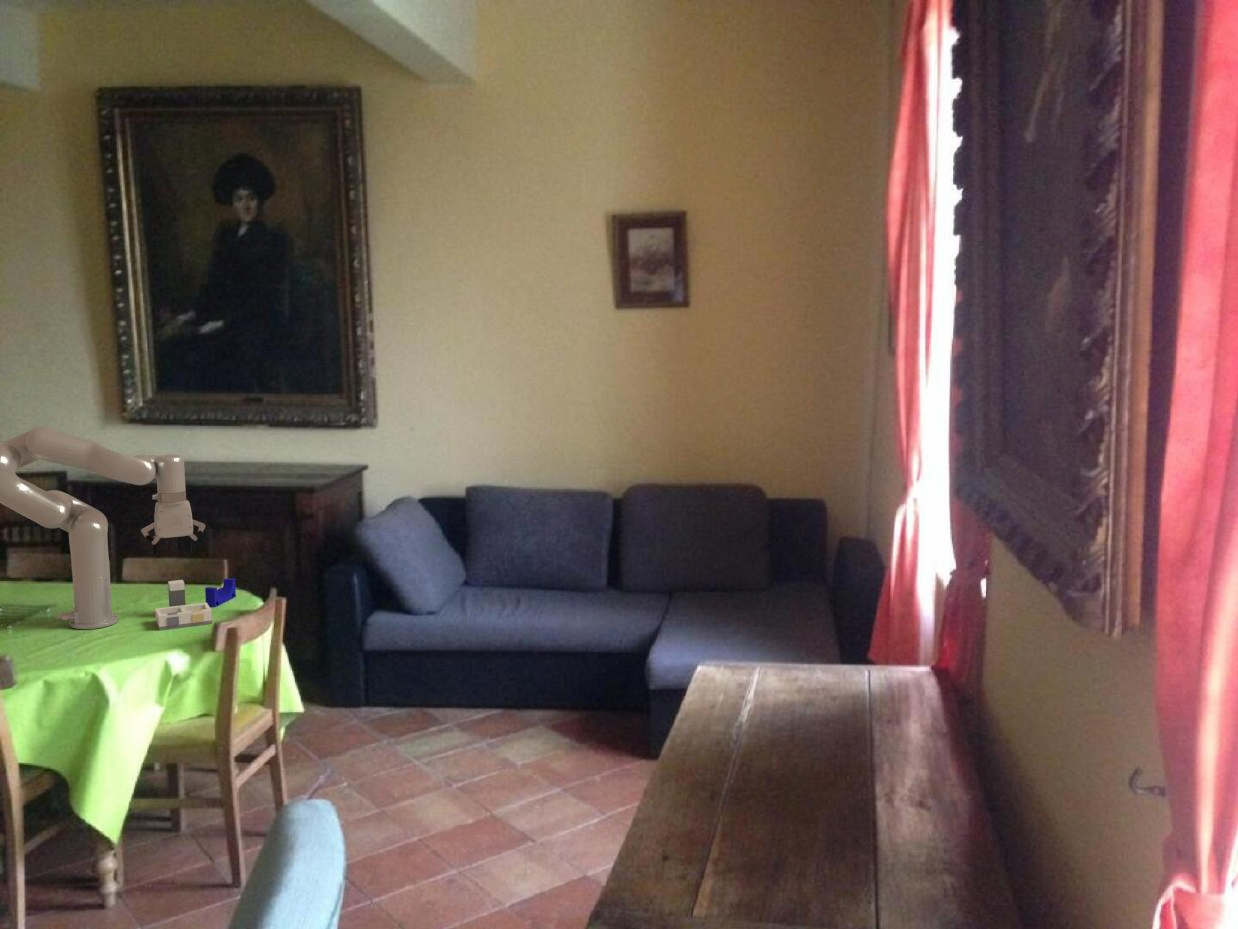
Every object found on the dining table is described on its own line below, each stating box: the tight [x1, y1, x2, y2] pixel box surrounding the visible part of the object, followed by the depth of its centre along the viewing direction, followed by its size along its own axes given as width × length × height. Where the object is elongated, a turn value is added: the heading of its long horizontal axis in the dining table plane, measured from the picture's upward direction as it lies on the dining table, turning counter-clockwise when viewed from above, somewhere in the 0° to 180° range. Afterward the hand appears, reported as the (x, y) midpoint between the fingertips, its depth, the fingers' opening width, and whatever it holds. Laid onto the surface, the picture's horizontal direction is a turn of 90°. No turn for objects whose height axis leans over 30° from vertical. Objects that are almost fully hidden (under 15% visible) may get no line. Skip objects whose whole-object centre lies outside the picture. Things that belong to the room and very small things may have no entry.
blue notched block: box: [204, 577, 237, 608], centre depth 326 cm, size 12×4×6 cm, turn 170°
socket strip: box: [154, 601, 213, 631], centre depth 304 cm, size 14×9×4 cm, turn 119°
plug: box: [167, 579, 187, 607], centre depth 312 cm, size 4×4×10 cm
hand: (175, 555), depth 310 cm, fingers open, 9 cm apart
